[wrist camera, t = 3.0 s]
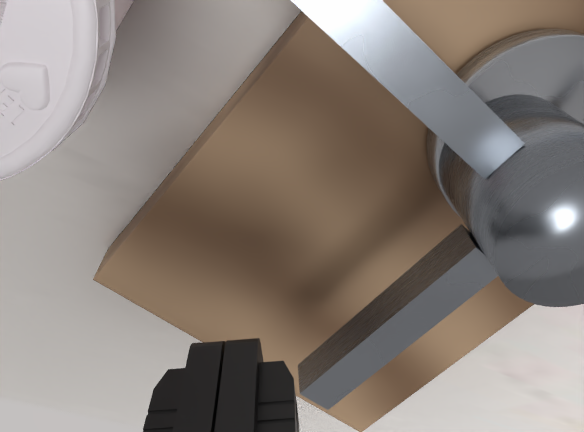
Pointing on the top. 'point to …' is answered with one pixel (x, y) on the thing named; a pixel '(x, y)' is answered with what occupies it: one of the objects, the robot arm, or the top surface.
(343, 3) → the capstan
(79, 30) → the smoothie
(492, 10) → the board
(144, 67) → the top surface
